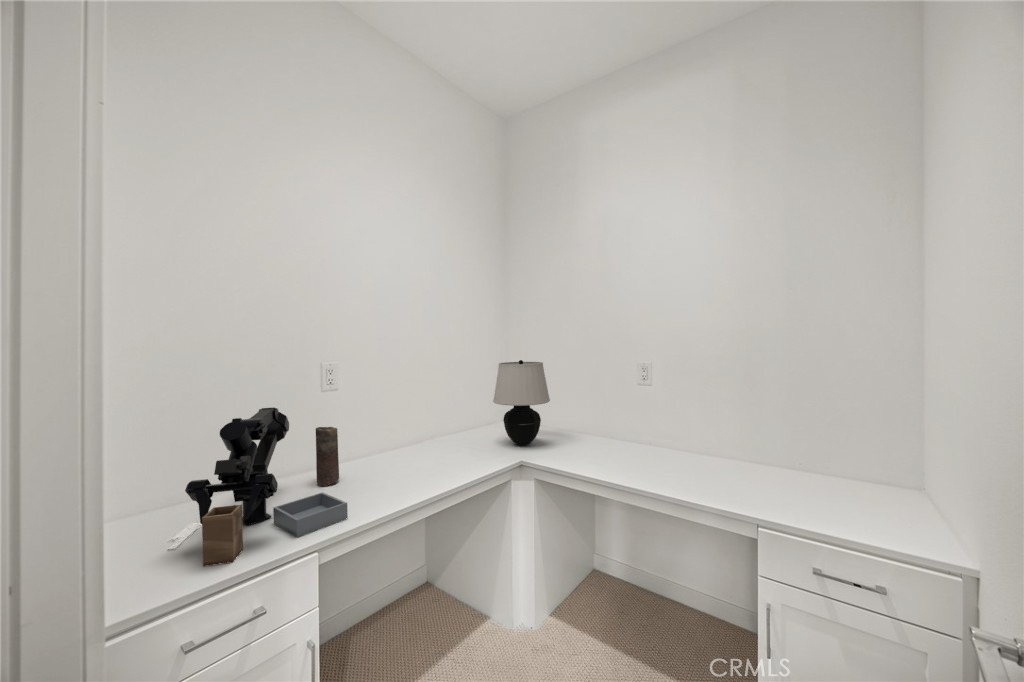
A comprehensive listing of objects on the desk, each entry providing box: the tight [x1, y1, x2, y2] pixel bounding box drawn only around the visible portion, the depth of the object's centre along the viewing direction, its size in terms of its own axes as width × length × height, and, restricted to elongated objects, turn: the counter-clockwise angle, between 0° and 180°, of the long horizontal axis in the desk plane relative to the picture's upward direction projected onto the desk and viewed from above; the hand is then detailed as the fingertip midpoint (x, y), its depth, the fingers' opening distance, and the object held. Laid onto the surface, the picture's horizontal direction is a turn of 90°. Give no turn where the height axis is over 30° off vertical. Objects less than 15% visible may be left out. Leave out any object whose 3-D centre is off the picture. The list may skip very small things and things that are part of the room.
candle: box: [315, 426, 340, 487], centre depth 148 cm, size 8×7×20 cm
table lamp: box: [492, 359, 551, 446], centre depth 197 cm, size 27×27×40 cm
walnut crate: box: [201, 504, 244, 567], centre depth 98 cm, size 6×6×11 cm
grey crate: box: [272, 491, 349, 539], centre depth 117 cm, size 14×14×4 cm
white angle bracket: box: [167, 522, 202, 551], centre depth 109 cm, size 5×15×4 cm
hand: (224, 520), depth 99 cm, fingers open, 9 cm apart
